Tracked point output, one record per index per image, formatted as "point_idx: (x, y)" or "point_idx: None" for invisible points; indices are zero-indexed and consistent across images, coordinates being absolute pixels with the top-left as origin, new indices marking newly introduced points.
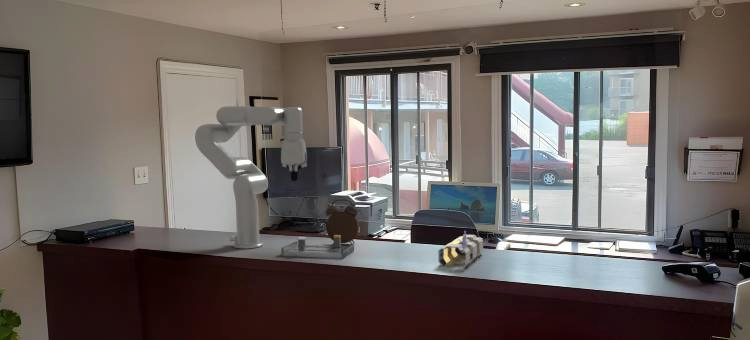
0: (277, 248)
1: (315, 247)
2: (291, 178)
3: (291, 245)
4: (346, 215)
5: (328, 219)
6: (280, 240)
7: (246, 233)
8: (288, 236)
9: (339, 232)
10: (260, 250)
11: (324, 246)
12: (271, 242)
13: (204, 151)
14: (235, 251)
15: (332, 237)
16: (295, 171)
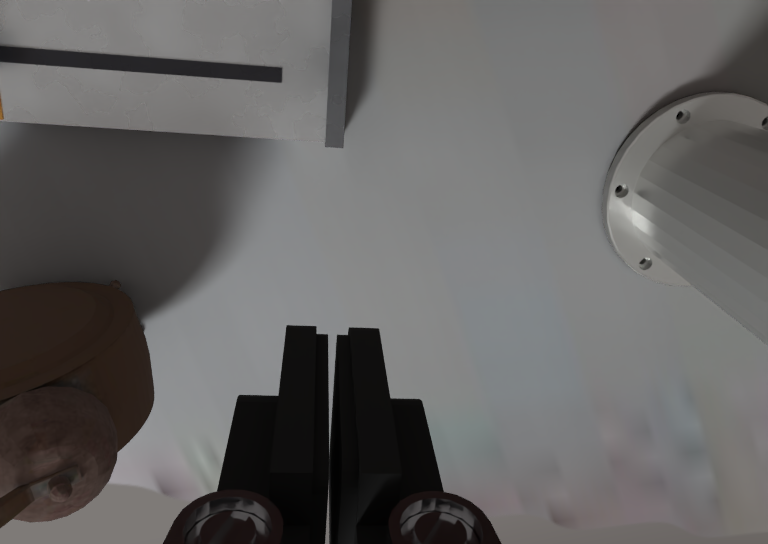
0: (475, 142)
1: (139, 40)
2: (404, 401)
3: (331, 27)
4: None
5: (83, 360)
6: (531, 385)
7: (751, 140)
8: (515, 495)
9: (26, 309)
10: (576, 60)
11: (84, 86)
12: (572, 321)
13: None
14: (747, 5)
15: (102, 294)
16: (254, 493)
